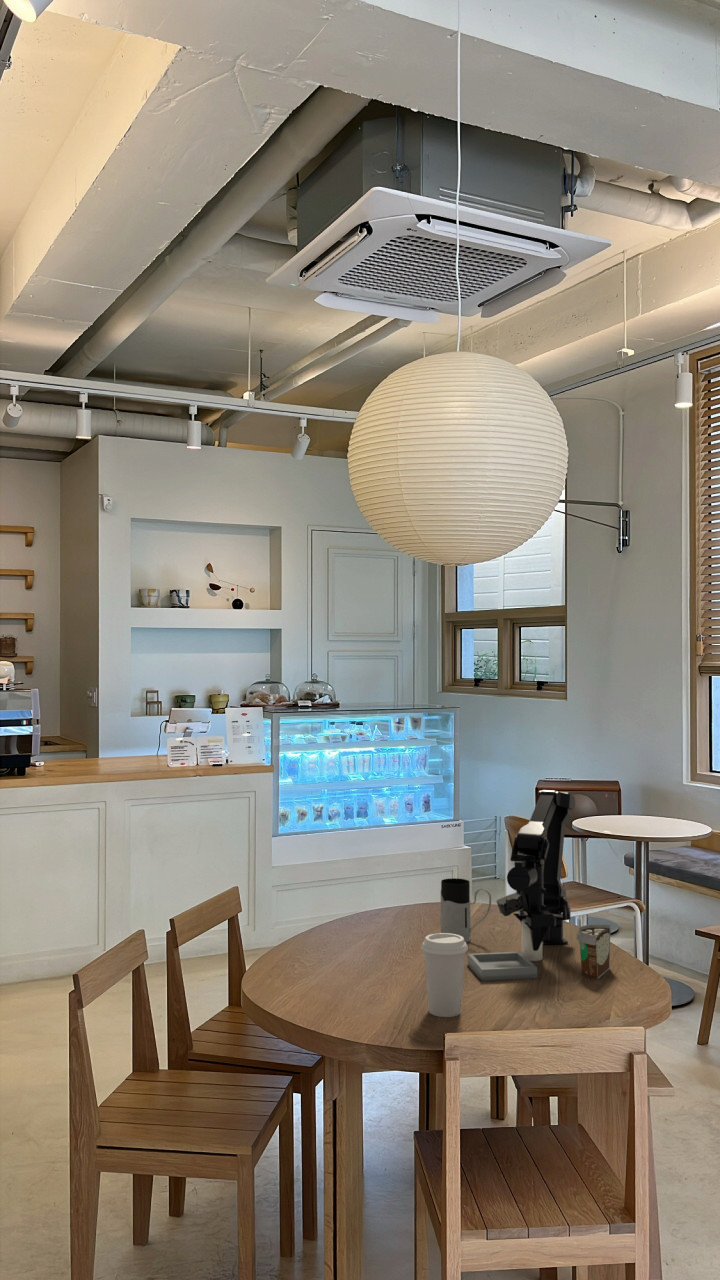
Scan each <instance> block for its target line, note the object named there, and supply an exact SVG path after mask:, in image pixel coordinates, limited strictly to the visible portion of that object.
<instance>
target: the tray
mask: <svg viewBox="0 0 720 1280" xmlns="http://www.w3.org/2000/svg"><path fill="white" fill-rule="evenodd" d="M467 965H468V967H469V968H470V969H471V970H472V972H474V974H475V975H476V976H477V977H478V978H479V979H480V981H482V982H487V981H506V980H507V981H509V980H531V979H532V980H533V979H538V966H536V965H535V964H534V963H533V961H530V960H529V959H528V958H526V957H525V956H524V955H523V954H522V951H507V952H506V951H505V952H504V951H503V952H500V951H499V952H481V953H480V952H479V953H478V952H477V953H467Z"/></svg>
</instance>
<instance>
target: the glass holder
mask: <svg viewBox="0 0 720 1280" xmlns="http://www.w3.org/2000/svg"><path fill="white" fill-rule="evenodd" d="M470 884H471V883H470V880H468V879H464V878H445V879H441V882H440V933H451V934H457V935H460V936H462V937H463V938H464V941H465V942H466V943H469V942H471V941H473V937H472V929H474V928H475V927H476V926H478V925H479V924H480V923H481V922H482V921H484V920H485V919H486V917H487V916H488V914H489V912H490V910H491V906H492V897H491V896H492V895H491V893H490V891H489V890H488V889H486V888H478V889H477V890H476V891H475V893H474V901H473V902H471V900H470V899H471V897H470V894H471V893H470V892H471V891H470V889H471V885H470ZM479 891H485V892H486V894H488V898H489V901H488V902H489V903H488V908H487V910H486V913H485V914H484V916H483V917H482V918H481V919H480V920H479V921H478V922H476V923H475V924H473V925H472V926H471V905H475V903H476V901H477V896H478V893H479Z"/></svg>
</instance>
